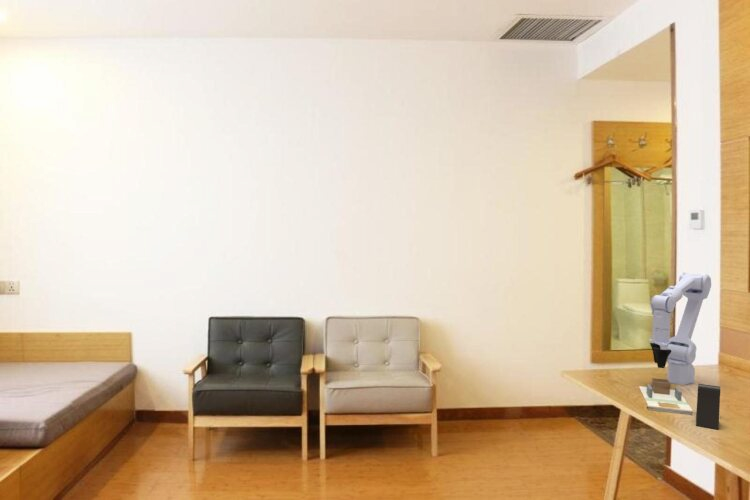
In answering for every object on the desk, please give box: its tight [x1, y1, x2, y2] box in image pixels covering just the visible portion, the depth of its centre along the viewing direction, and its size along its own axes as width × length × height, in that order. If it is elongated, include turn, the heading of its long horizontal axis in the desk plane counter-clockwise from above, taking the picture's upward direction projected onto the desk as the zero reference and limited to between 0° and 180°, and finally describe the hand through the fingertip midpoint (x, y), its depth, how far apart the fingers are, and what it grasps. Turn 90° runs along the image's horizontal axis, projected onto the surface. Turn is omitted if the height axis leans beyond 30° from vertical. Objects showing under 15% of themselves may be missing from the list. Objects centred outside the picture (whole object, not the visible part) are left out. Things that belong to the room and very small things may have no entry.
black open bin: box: [695, 383, 721, 430], centre depth 178 cm, size 9×6×12 cm, turn 150°
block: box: [651, 378, 671, 395], centre depth 206 cm, size 5×5×4 cm
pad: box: [644, 398, 689, 405], centre depth 195 cm, size 4×13×2 cm, turn 72°
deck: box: [638, 384, 694, 416], centre depth 199 cm, size 24×13×4 cm, turn 162°
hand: (659, 365), depth 211 cm, fingers open, 7 cm apart
